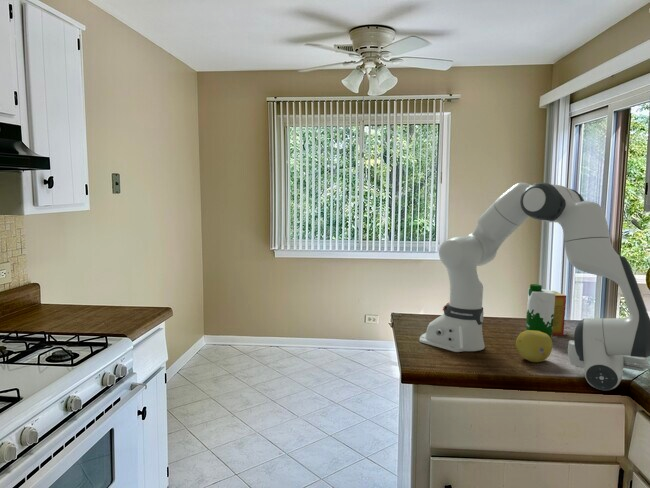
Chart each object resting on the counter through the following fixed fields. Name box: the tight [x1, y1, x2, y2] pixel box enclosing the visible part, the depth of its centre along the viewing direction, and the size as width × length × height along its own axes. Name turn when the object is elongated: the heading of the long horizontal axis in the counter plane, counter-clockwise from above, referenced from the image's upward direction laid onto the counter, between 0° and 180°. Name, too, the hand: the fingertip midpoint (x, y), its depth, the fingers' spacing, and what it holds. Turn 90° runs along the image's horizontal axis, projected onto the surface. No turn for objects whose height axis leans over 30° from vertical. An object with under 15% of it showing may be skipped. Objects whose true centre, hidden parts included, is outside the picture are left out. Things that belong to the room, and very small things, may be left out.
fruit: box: [515, 329, 553, 363], centre depth 146 cm, size 10×11×10 cm
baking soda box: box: [551, 290, 567, 336], centre depth 179 cm, size 10×6×16 cm
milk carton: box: [525, 283, 555, 339], centre depth 171 cm, size 9×9×20 cm
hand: (607, 347), depth 139 cm, fingers open, 8 cm apart
